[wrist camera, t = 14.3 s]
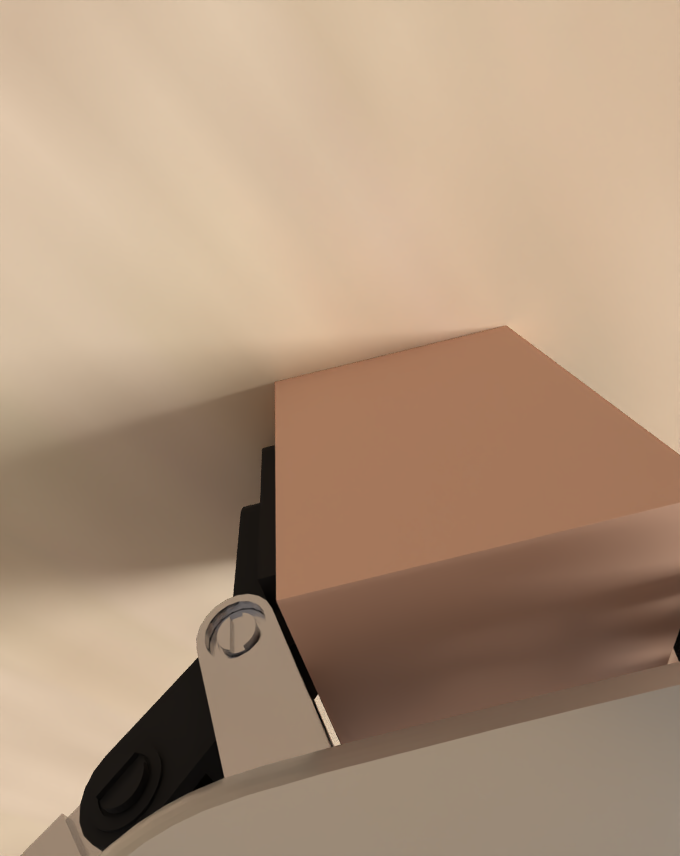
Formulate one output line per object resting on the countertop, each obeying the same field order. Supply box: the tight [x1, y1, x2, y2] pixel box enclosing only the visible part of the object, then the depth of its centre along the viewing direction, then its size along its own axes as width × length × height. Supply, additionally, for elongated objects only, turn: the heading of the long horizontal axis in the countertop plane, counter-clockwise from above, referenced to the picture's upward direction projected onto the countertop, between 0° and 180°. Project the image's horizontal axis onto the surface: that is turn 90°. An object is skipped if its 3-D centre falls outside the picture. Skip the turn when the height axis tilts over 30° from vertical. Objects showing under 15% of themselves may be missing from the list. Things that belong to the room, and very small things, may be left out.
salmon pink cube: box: [275, 326, 680, 744], centre depth 9 cm, size 6×6×6 cm
